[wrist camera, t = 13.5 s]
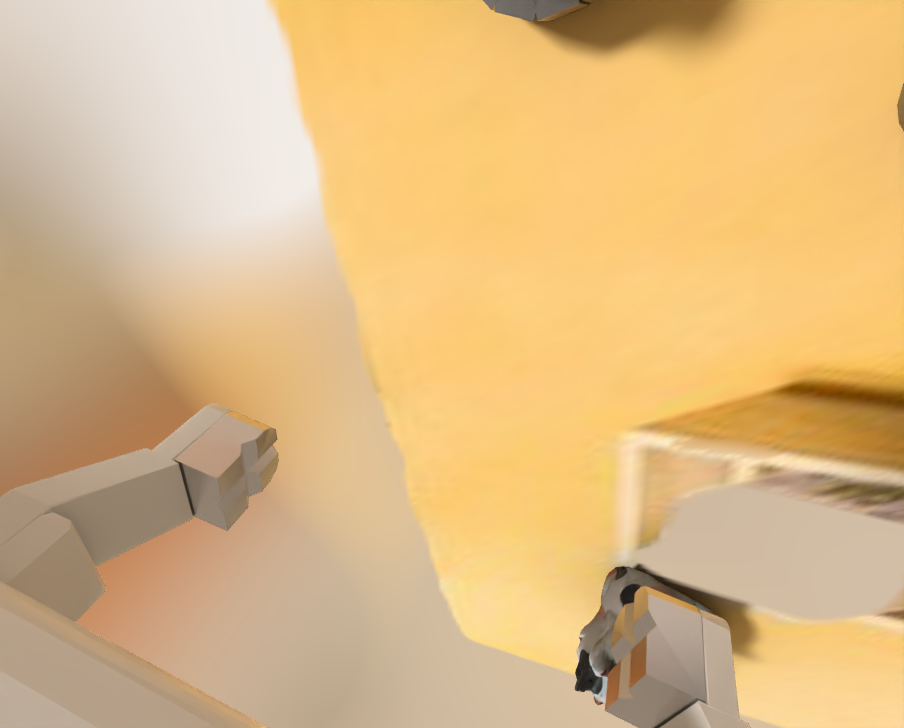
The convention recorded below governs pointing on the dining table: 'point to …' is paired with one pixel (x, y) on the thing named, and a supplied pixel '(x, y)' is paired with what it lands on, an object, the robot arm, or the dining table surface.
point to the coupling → (537, 8)
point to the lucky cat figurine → (598, 633)
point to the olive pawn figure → (901, 108)
